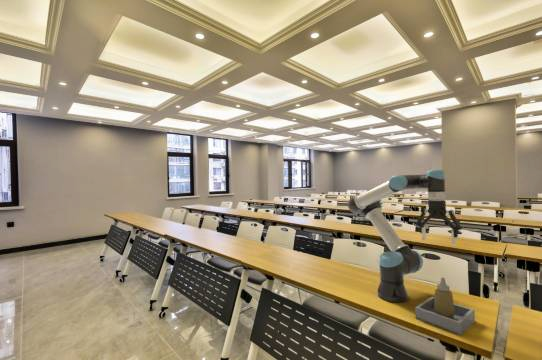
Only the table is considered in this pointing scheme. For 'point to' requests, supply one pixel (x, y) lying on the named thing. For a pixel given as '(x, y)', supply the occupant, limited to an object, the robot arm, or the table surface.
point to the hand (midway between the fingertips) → (438, 241)
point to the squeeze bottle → (444, 300)
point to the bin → (456, 325)
